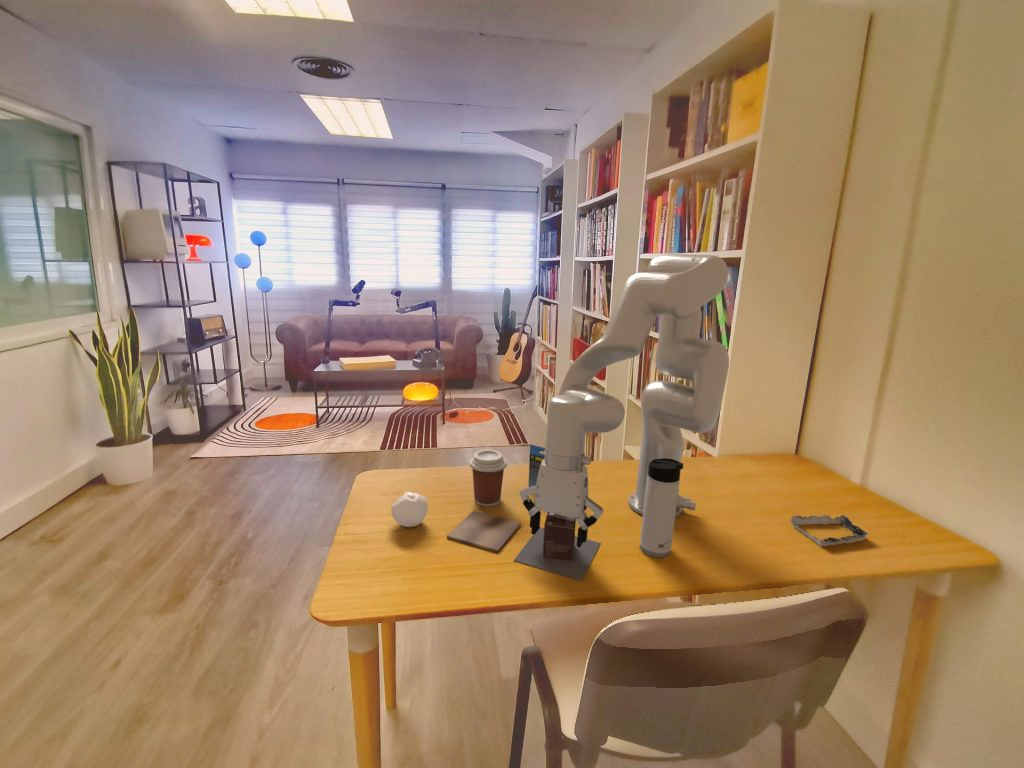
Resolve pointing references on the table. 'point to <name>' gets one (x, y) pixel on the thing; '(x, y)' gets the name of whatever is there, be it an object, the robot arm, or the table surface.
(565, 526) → the box
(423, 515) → the white rounded piece
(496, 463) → the coffee cup
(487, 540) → the walnut pad
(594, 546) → the mat
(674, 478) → the travel mug
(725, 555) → the table surface
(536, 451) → the label tape cartridge
